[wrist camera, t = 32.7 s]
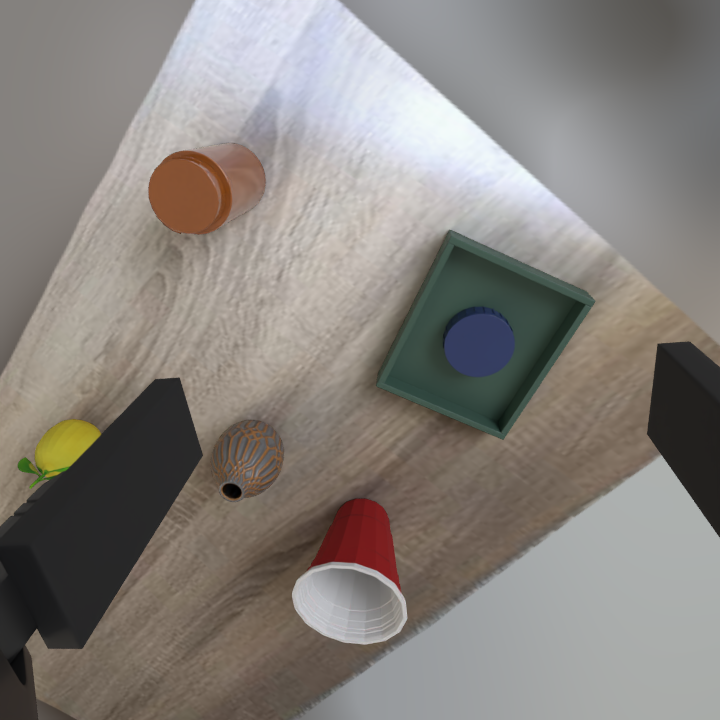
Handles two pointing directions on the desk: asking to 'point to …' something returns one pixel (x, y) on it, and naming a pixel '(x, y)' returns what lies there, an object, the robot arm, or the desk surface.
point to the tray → (493, 290)
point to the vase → (246, 460)
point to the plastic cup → (354, 579)
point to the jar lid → (478, 341)
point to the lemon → (60, 448)
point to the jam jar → (206, 187)
